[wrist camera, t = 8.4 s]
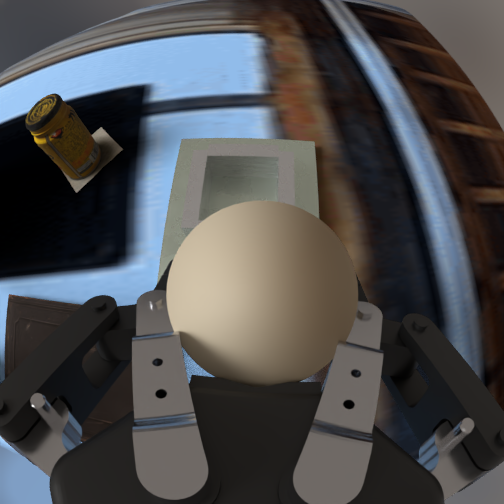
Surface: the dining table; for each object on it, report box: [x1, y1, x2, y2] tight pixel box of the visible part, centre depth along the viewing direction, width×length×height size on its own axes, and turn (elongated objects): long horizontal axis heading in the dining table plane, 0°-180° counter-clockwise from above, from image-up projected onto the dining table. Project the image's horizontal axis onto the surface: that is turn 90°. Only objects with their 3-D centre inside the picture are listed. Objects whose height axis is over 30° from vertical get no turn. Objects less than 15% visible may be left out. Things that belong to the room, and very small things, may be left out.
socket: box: [157, 138, 319, 284], centre depth 29 cm, size 16×18×5 cm
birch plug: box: [166, 201, 358, 387], centre depth 12 cm, size 5×5×10 cm
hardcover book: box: [5, 294, 134, 442], centre depth 26 cm, size 16×23×2 cm
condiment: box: [26, 94, 123, 193], centre depth 29 cm, size 7×8×12 cm
